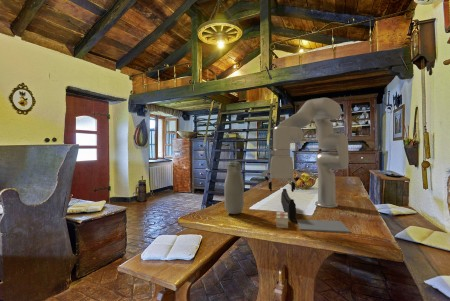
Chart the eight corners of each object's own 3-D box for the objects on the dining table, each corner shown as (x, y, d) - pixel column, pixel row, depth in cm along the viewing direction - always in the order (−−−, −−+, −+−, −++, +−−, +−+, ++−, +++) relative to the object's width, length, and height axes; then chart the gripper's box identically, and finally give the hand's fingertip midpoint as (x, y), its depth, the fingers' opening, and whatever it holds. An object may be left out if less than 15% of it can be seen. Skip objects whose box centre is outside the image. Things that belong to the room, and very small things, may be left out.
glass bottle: (222, 215, 123) (221, 161, 122) (229, 210, 132) (229, 160, 131) (239, 217, 119) (239, 162, 118) (246, 212, 128) (246, 160, 127)
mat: (296, 220, 113) (296, 219, 113) (340, 222, 109) (341, 221, 109) (299, 230, 100) (299, 228, 100) (350, 232, 96) (350, 231, 96)
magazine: (297, 205, 107) (287, 177, 135) (290, 205, 107) (281, 177, 136) (295, 236, 112) (286, 203, 141) (288, 236, 113) (280, 203, 141)
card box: (276, 221, 113) (276, 211, 113) (287, 222, 111) (287, 212, 111) (276, 227, 104) (276, 217, 104) (288, 228, 103) (288, 217, 103)
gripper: (262, 153, 105) (262, 192, 105) (302, 153, 102) (302, 193, 102) (262, 153, 112) (262, 189, 112) (300, 153, 109) (300, 190, 109)
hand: (281, 191), depth 107 cm, fingers open, 9 cm apart
